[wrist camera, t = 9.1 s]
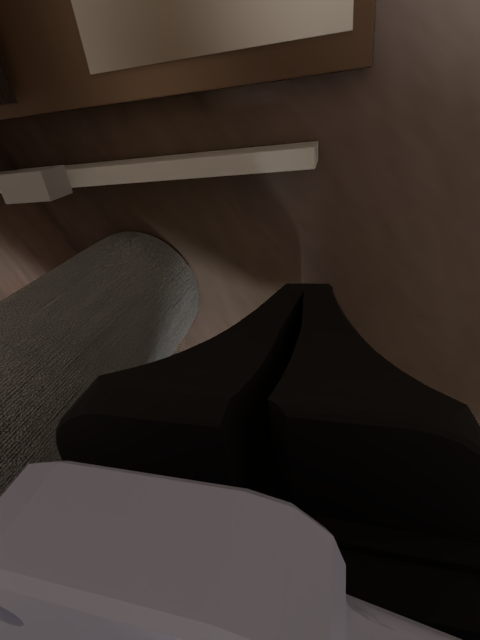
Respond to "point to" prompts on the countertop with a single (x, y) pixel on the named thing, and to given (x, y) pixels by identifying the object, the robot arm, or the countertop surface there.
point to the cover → (5, 87)
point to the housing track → (171, 47)
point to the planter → (85, 335)
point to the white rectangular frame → (153, 170)
